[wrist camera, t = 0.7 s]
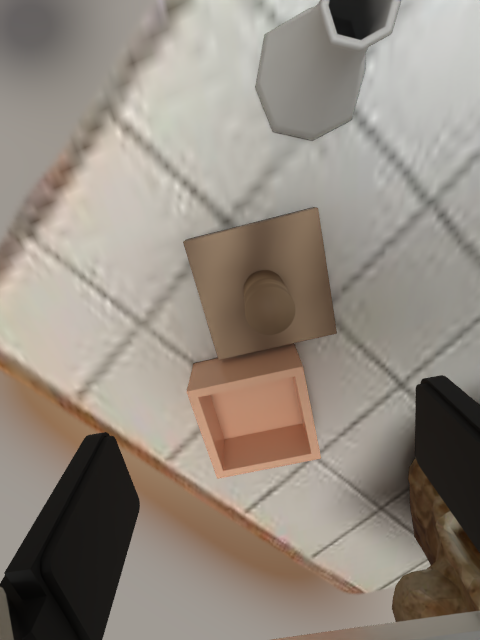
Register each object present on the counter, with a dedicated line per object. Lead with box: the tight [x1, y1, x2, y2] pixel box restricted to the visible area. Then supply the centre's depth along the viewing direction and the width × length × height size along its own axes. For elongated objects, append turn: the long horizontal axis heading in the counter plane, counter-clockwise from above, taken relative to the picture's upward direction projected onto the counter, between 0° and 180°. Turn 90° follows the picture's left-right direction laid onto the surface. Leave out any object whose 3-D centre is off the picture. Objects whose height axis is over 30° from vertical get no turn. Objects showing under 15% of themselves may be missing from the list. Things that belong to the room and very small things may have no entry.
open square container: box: [187, 343, 321, 479], centre depth 29 cm, size 9×9×4 cm
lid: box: [183, 208, 337, 360], centre depth 24 cm, size 10×10×6 cm
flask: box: [255, 0, 401, 140], centre depth 17 cm, size 7×7×10 cm
